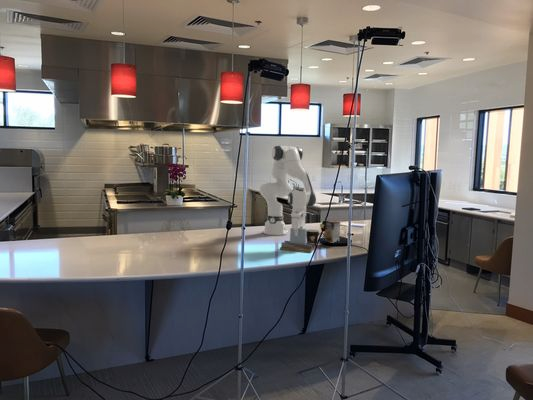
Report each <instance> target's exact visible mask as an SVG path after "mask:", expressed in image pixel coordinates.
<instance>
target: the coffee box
mask: <svg viewBox="0 0 533 400" xmlns="http://www.w3.org/2000/svg"><path fill="white" fill-rule="evenodd" d="M325 222H326V223H325ZM324 228H325V230H324V229H323V231H324V232H323V234H324V235H323V236H324V237H323V241H324V240H326V241H328V242H330V243H334V242H337V241H339V242H340V233H341V222H340V221H338V220H337V221H336V220H331V219H329V220H327V219H326V220H324Z"/></svg>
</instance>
